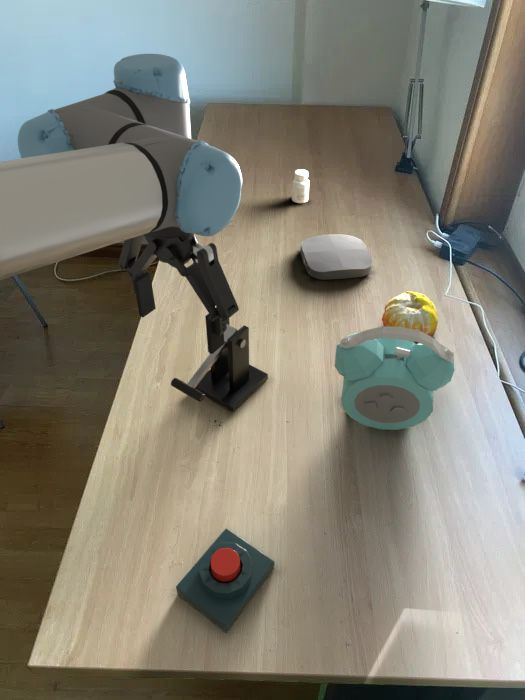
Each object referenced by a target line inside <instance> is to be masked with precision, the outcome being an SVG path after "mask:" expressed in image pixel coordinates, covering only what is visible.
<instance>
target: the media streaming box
mask: <svg viewBox="0 0 525 700" xmlns="http://www.w3.org/2000/svg"><path fill="white" fill-rule="evenodd" d="M300 256H301V260H302V262H303V265H304V268H305V271H306V272H307V274H308V275H309V276H310V277H312V278H313V279H314V278H315V279H317V280H340V279H352V278H362V277H365V276H368V275H369V274H370V273H371V271H372V266H373V259H372V256H371V253H370V251H369V248H368V247H367V245H366V244H365V242H364V241H363V240H362V239H361V238H358V237H356V236H354V235H350V234H340V233H329V234H320V235H313V236H310V237H308V238H305V239H304V240H303V241H302V242H301V243H300Z"/></svg>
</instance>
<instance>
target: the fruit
mask: <svg viewBox="0 0 525 700" xmlns="http://www.w3.org/2000/svg"><path fill="white" fill-rule="evenodd" d="M381 322H382V324H383V325H382V326H388V327H404V328H409V329H414V330H419V331H421V332H423V333H425V334H427V335H429V336H431V337H433V336H434V335H435V333H436V331H437V328H438V324H439V316H438V311H437V308H436V306H435V304H434V302H433V301H432V300H431V299H430V298H429V297H427V295H425V294H424V293H419V292H415V291H405V292H402V293H399V295H397V296H394V297H392V298H391V299H389V301H388V302H386V304H385V305H384V312H383V314H382V317H381ZM408 341H409V340H408ZM412 342H414V343H415V344H419V342H415V341H412Z"/></svg>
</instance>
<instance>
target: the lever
mask: <svg viewBox="0 0 525 700" xmlns="http://www.w3.org/2000/svg"><path fill="white" fill-rule="evenodd" d="M238 330H239V329H238V328H236V327H233V326H231V325H228V324H227V330H226V331H225V332H224V345H222V346H221V347H220V348H219V349H218V350H217V351H215V352H214V353H213V354H211V353H209V355H208V356H207V357H206V358H205V360H204V361H203V362H202V363H201V365H200V366H199V368H198V369H197V370H196V371H195V373H194V374H193V375H192V376H191V378H190V379H189V381H188V382H185V381H183V380H181V379H179V378H178V377H174V378H172V379H171V381H170V385H171V387H173V388H175V389H176V390H178V391H180V392H181V393H183V394H185V395H187V396H188V397H189V398H192V399H193V400H195V401H197V402H198V403H203V402H204V401H205V400H206V397H205V394H204V393H202V392H200V391H198V390H197V389H195V388H196V386H197V385H198V384H199V382H200V381H201V380H202V378H203V377H204V376H205V374H206V373H207V372H208V371H209V370H210V369H211V366H212V365H213V364H214V363H215V361H216V360H217V359H218V357H219V356H220V355H221V353H222V352H223V351H224V349H225V348H228V346H227V339H228V338H229V337H231V336H232V335H233V334H234V333H235V332H237V331H238Z"/></svg>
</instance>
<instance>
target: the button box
mask: <svg viewBox="0 0 525 700" xmlns="http://www.w3.org/2000/svg"><path fill="white" fill-rule="evenodd" d="M222 548H230V549H232V550H234V551H235V552H236V553H237V554H238V556H239V558H240V572H239V574H238V576H237V577H236V578H235V579H234V580H232V581H229V582H221V581H218V580H217V579H215V577H214V576H213V574H212V572H211V558H212V556H213V554H214V553H215V552H216V551H217V550H219V549H222ZM274 570H275V560H274V559H272V558H271V557H269V555H266V554H264V552H262V551H260V550H259V549H258V548H256V547H255V546H253V545H252V544H250V543H249V542H247V541H246V540H244V539H243V538H242V537H240V536H238V535H237V534H236V533H234V532H233V531H232V530H230V529H228V528H227V527H226V528H224V530H223V531H222V533H221V534H219V536H218V537H217V538H216V539H215V541H213V543H212V544H211V545H210V546H209V548H207V550H206V551H205V552H204V553H203V554H202V556H201V557H200V558H199V559H198V560H197V562H195V564H194V565H193V566H192V567H191V568H190V569H189V571H188V572H187V573H186V574H185V575H184V577H182V579H181V580H180V581H179V582H178V584H177V585H176V586H175V588H176V594H177V596H178V597H180V598H182V599H183V600H184V601H185V602H186V603H188V604H189V605H190V606H192V608H194V610H196V611H198V612H199V613H200V614H202V615H203V616H204V617H205V618H206V619H208V620H209V621H210V622H212V623H213V624H214V625H215V626H217V627H218V628H219V629H220V630H222V631H223V632H225V634H227V633H229V631H230V630H231V628H232V626H233V625H234V624H235V623H236V621H237V620H238V619H239V617H240V616H241V615H242V613H243V612H244V611H245V609H246V608H247V607H248V605H249V604H250V602H251V601H252V600H253V598H255V596H256V594H257V593H258V592H259V590H260V589H261V588H262V586H263V585H264V584H265V582H266V581H267V580H268V578H269V577H270V576H271V574H272V573H273V572H274Z"/></svg>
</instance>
